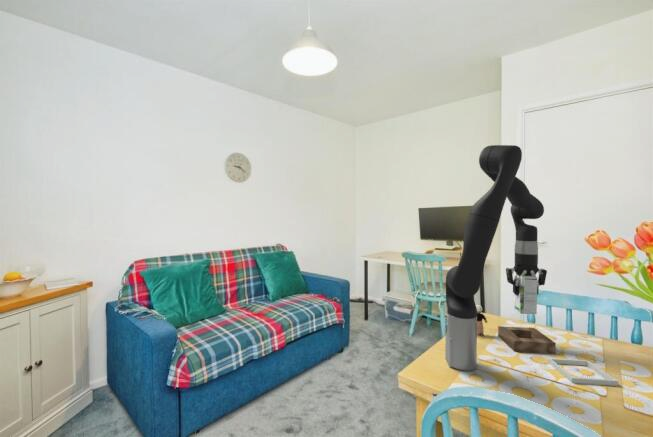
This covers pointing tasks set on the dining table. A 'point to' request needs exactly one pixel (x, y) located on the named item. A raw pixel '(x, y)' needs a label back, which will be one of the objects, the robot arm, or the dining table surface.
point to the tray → (606, 381)
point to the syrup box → (526, 295)
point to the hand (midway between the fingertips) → (525, 295)
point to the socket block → (526, 340)
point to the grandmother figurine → (480, 321)
